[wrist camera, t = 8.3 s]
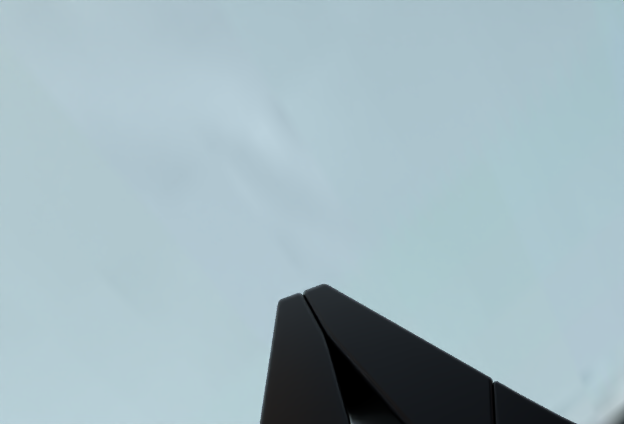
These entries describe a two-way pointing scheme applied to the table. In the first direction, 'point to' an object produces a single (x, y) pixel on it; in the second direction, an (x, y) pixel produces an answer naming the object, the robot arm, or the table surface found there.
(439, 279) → the table surface
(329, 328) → the robot arm
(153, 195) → the table surface
